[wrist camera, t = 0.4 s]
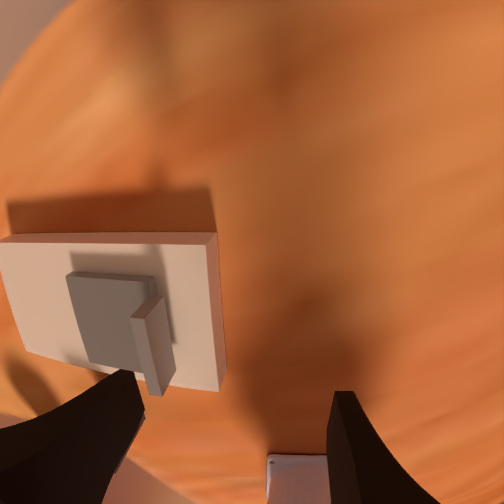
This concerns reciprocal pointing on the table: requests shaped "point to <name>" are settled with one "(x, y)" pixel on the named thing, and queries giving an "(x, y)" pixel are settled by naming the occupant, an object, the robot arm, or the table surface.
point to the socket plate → (125, 263)
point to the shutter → (124, 325)
